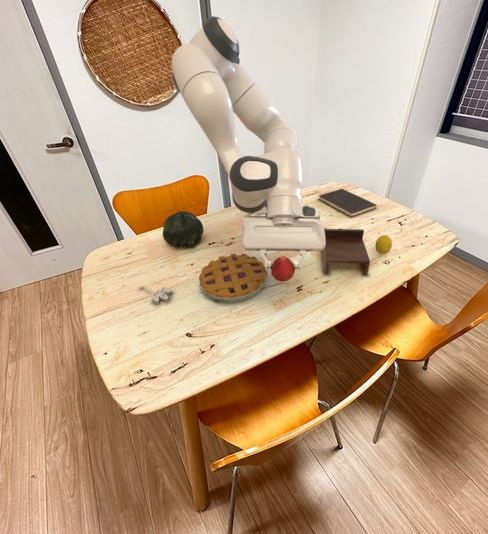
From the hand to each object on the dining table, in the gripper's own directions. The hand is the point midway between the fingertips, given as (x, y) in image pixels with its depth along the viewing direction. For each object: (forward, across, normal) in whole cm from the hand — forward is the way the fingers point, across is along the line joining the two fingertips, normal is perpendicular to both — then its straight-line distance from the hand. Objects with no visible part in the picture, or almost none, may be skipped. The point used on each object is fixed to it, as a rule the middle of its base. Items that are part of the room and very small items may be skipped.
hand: (283, 269), depth 67 cm
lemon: (-10, +35, +36) cm, 51 cm away
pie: (+2, -17, +23) cm, 29 cm away
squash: (-14, -40, +40) cm, 58 cm away
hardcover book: (-40, +28, +66) cm, 82 cm away
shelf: (-7, +20, +32) cm, 39 cm away
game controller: (+7, -41, +19) cm, 45 cm away
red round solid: (+3, 0, +4) cm, 5 cm away
